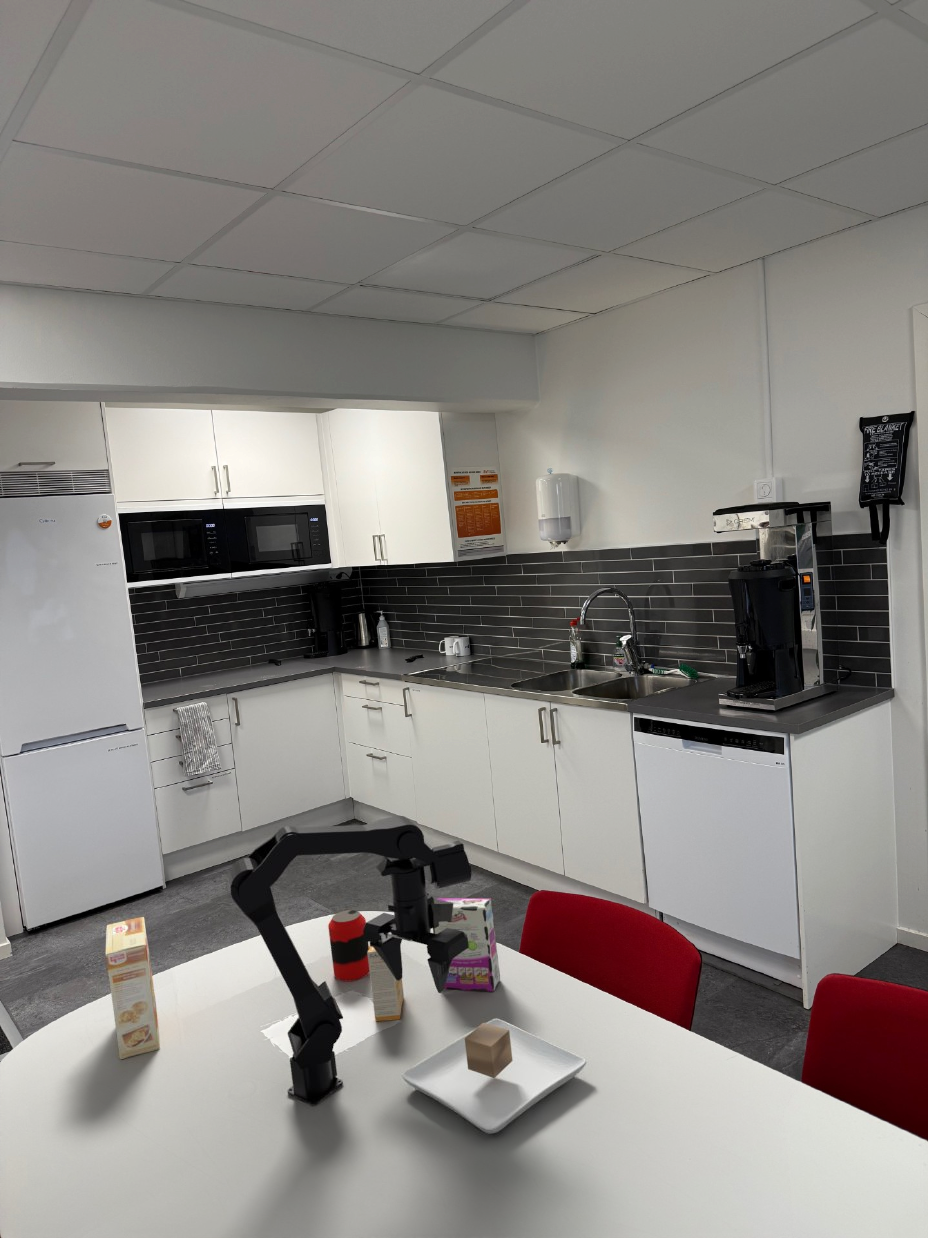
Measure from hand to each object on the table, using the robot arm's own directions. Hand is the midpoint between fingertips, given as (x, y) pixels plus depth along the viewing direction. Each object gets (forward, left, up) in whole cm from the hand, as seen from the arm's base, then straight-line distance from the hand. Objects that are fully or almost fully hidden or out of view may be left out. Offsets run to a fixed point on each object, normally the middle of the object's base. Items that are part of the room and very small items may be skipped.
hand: (420, 985), depth 143 cm
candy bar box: (+22, +8, -12) cm, 26 cm away
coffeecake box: (-21, +53, -12) cm, 58 cm away
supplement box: (+8, +16, -12) cm, 22 cm away
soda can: (+15, +33, -12) cm, 38 cm away
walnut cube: (-1, -14, -9) cm, 17 cm away
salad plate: (-1, -15, -13) cm, 19 cm away
